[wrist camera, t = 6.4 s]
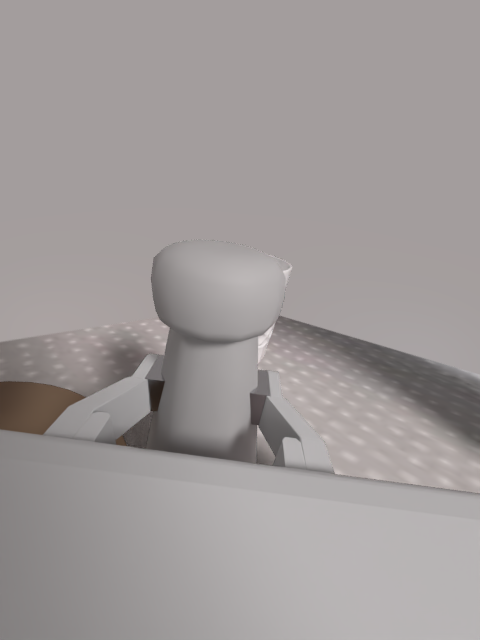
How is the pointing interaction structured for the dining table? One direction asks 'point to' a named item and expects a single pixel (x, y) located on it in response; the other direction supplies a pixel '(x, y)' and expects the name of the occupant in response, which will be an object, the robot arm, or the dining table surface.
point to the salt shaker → (212, 345)
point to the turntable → (34, 406)
